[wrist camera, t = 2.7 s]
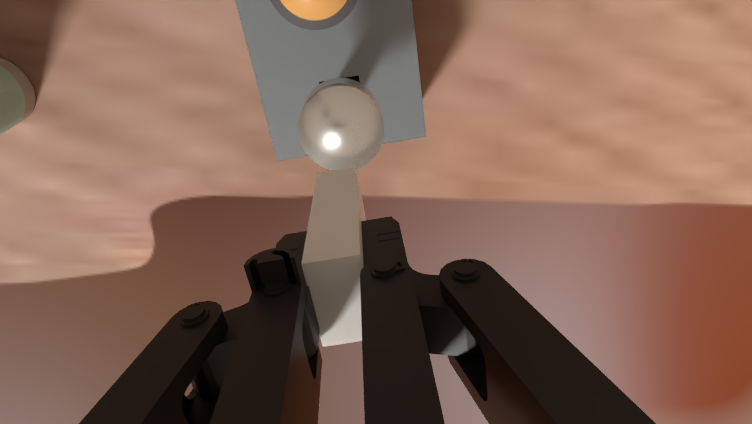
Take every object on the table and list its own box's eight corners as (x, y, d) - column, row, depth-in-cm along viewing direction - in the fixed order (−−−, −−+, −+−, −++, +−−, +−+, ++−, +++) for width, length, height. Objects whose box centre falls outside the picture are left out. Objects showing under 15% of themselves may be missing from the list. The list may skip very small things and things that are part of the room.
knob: (305, 65, 36) (288, 94, 26) (368, 55, 36) (377, 80, 25) (318, 127, 38) (307, 177, 28) (377, 117, 38) (389, 164, 28)
